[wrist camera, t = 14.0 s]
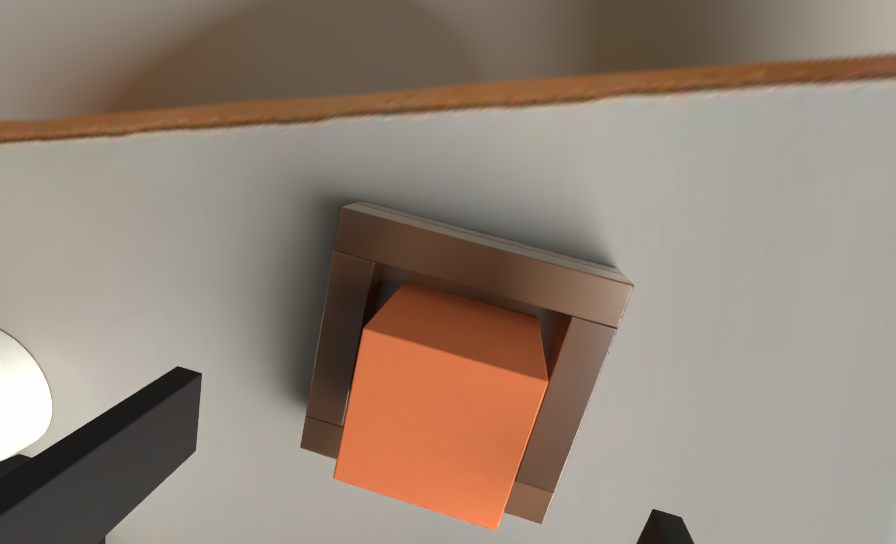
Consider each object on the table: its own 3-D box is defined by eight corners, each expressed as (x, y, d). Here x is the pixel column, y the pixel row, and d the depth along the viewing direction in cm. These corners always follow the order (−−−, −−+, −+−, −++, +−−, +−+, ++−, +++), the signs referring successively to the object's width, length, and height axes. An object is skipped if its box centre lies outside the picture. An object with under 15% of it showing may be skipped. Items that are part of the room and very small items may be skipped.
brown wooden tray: (322, 417, 22) (299, 448, 20) (361, 200, 19) (340, 206, 17) (539, 484, 22) (542, 525, 19) (619, 268, 18) (634, 285, 16)
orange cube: (379, 396, 20) (332, 479, 15) (404, 280, 19) (362, 327, 14) (501, 433, 20) (496, 532, 15) (538, 317, 18) (549, 382, 13)
